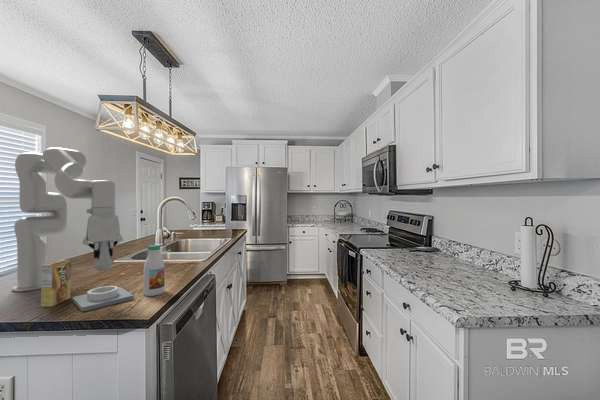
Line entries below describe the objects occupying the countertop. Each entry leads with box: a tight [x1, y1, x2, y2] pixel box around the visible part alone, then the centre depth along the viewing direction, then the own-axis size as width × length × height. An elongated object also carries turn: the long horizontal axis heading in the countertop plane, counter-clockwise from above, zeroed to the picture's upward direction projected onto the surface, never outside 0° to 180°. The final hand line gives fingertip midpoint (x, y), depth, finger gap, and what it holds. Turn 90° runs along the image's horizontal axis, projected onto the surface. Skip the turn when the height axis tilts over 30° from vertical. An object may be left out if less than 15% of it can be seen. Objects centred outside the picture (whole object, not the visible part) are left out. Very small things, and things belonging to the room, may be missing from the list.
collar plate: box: [71, 285, 134, 313], centre depth 105 cm, size 16×16×4 cm
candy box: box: [40, 259, 72, 308], centre depth 102 cm, size 9×4×15 cm, turn 6°
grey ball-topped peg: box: [93, 241, 113, 272], centre depth 105 cm, size 6×6×13 cm
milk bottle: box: [143, 244, 166, 297], centre depth 112 cm, size 8×8×20 cm
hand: (103, 258), depth 105 cm, fingers closed on grey ball-topped peg, 3 cm apart
